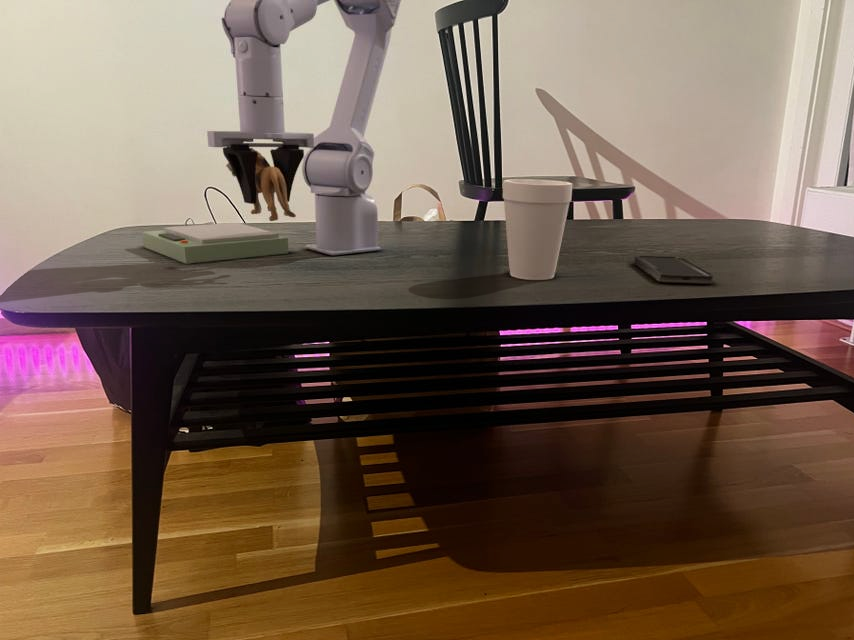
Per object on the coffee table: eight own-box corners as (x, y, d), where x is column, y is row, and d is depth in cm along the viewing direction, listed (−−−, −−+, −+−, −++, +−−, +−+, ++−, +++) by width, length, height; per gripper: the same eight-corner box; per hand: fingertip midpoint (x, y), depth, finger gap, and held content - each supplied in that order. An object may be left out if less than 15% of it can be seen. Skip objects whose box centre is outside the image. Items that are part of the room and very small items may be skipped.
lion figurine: (230, 212, 101) (219, 147, 97) (264, 207, 104) (255, 144, 101) (278, 224, 90) (267, 152, 87) (314, 218, 94) (306, 148, 90)
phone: (681, 257, 112) (715, 276, 98) (680, 264, 113) (714, 284, 99) (632, 255, 112) (660, 274, 98) (632, 262, 112) (659, 282, 98)
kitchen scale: (240, 239, 120) (239, 221, 119) (288, 253, 109) (287, 233, 108) (143, 247, 109) (141, 227, 108) (186, 263, 98) (184, 242, 97)
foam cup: (557, 285, 95) (564, 186, 90) (491, 278, 97) (496, 182, 93) (569, 272, 103) (576, 181, 99) (509, 266, 106) (513, 178, 101)
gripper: (221, 94, 85) (230, 208, 89) (324, 100, 94) (327, 202, 99) (196, 94, 89) (206, 202, 94) (297, 99, 99) (301, 197, 104)
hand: (266, 202), depth 97 cm, fingers closed on lion figurine, 4 cm apart
